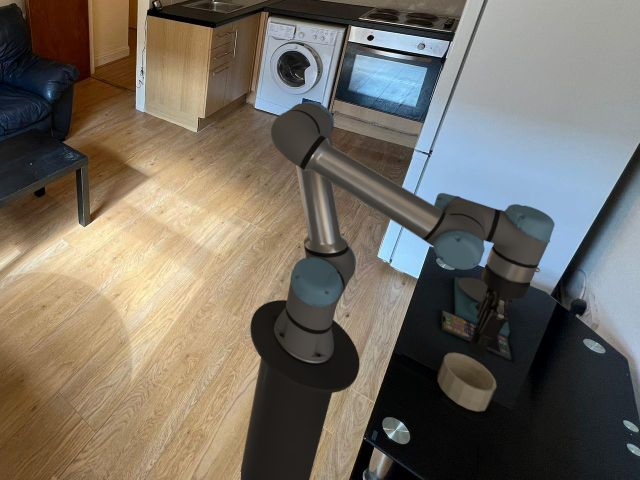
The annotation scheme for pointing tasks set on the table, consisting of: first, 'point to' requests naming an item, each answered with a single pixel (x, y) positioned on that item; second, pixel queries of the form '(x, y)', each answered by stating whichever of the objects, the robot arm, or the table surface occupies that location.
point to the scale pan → (473, 288)
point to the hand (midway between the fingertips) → (475, 352)
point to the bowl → (466, 381)
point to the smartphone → (466, 331)
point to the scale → (470, 307)
